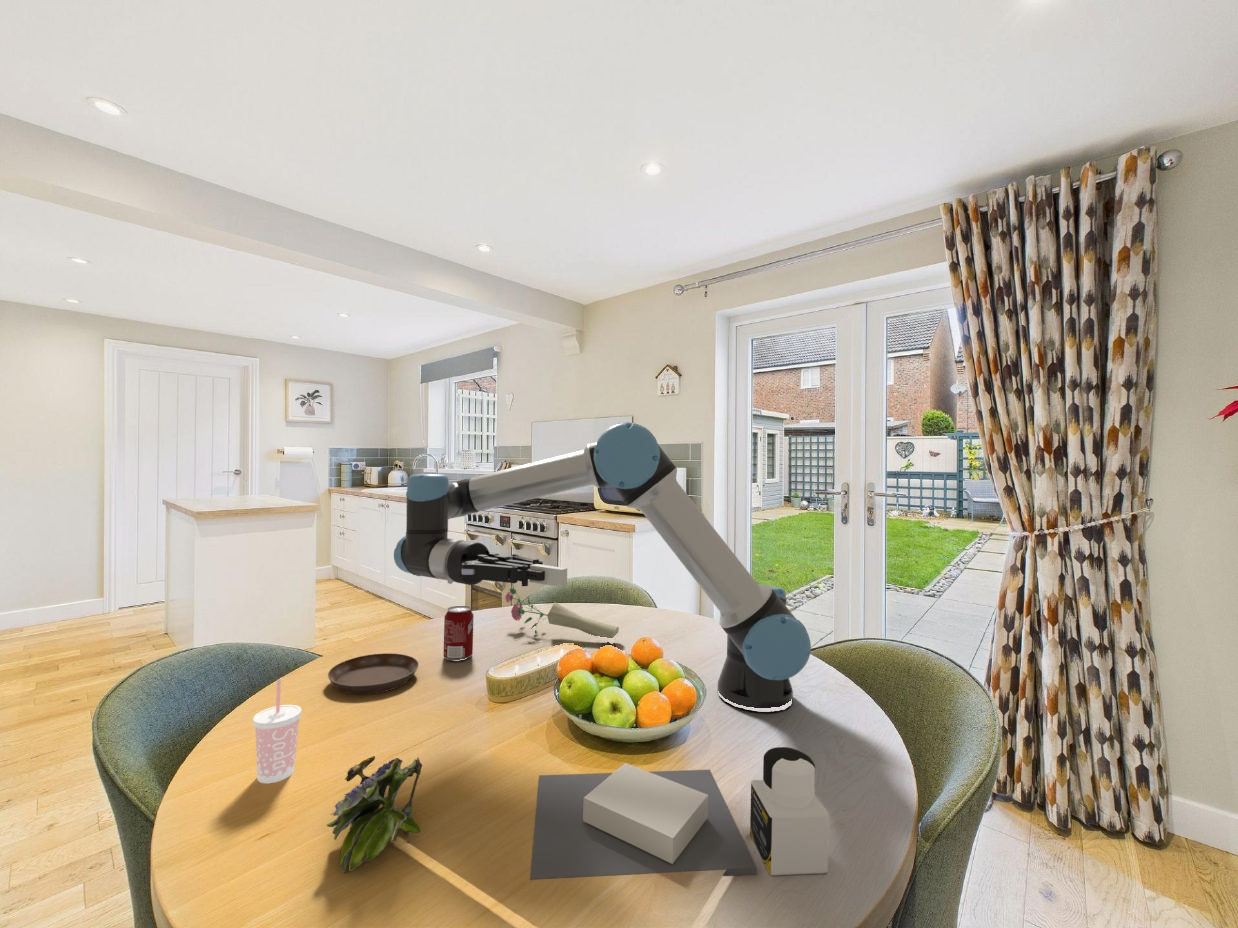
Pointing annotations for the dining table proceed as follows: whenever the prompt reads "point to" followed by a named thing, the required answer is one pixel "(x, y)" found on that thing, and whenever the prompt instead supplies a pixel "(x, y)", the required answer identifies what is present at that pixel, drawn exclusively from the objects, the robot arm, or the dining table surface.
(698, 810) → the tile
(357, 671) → the plant saucer
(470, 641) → the soda can
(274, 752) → the beverage cup
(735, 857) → the mat
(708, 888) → the dining table surface
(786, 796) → the medicine bottle
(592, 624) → the flower vase
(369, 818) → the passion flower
